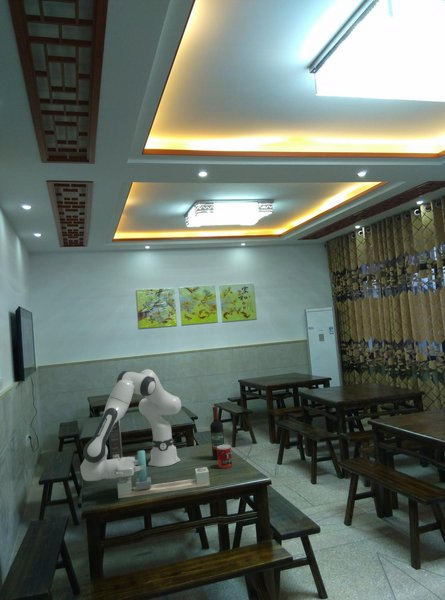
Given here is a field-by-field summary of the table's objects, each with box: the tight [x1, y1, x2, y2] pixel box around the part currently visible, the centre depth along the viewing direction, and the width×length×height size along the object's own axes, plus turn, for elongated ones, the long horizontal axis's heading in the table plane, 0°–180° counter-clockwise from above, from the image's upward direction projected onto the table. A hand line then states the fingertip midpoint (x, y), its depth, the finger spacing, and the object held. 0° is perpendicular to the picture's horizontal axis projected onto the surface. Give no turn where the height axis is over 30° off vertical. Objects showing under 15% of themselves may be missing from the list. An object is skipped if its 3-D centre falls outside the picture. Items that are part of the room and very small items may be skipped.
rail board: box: [116, 466, 211, 499], centre depth 223 cm, size 8×44×7 cm, turn 99°
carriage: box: [135, 449, 152, 490], centre depth 222 cm, size 7×7×17 cm
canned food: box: [217, 444, 233, 470], centre depth 250 cm, size 8×8×11 cm
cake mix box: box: [108, 418, 123, 459], centre depth 272 cm, size 22×6×30 cm, turn 12°
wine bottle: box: [209, 406, 225, 461], centre depth 267 cm, size 8×8×30 cm
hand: (143, 464), depth 222 cm, fingers open, 8 cm apart
